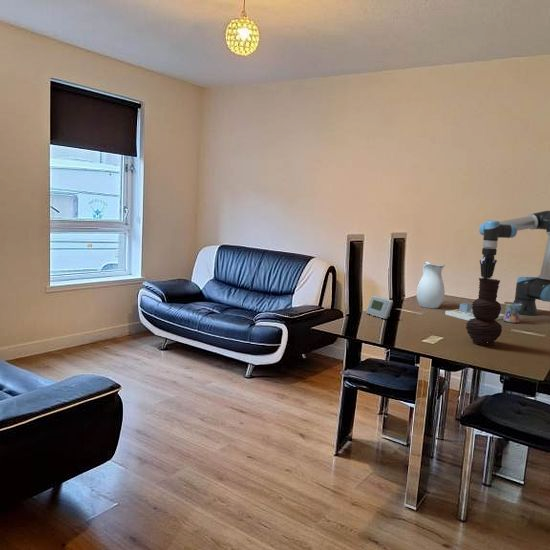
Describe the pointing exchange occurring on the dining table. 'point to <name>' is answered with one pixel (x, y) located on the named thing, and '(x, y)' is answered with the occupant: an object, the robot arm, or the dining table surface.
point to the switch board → (466, 314)
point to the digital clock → (379, 307)
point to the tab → (465, 307)
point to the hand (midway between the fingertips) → (485, 288)
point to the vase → (485, 314)
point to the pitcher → (431, 286)
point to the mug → (512, 312)
